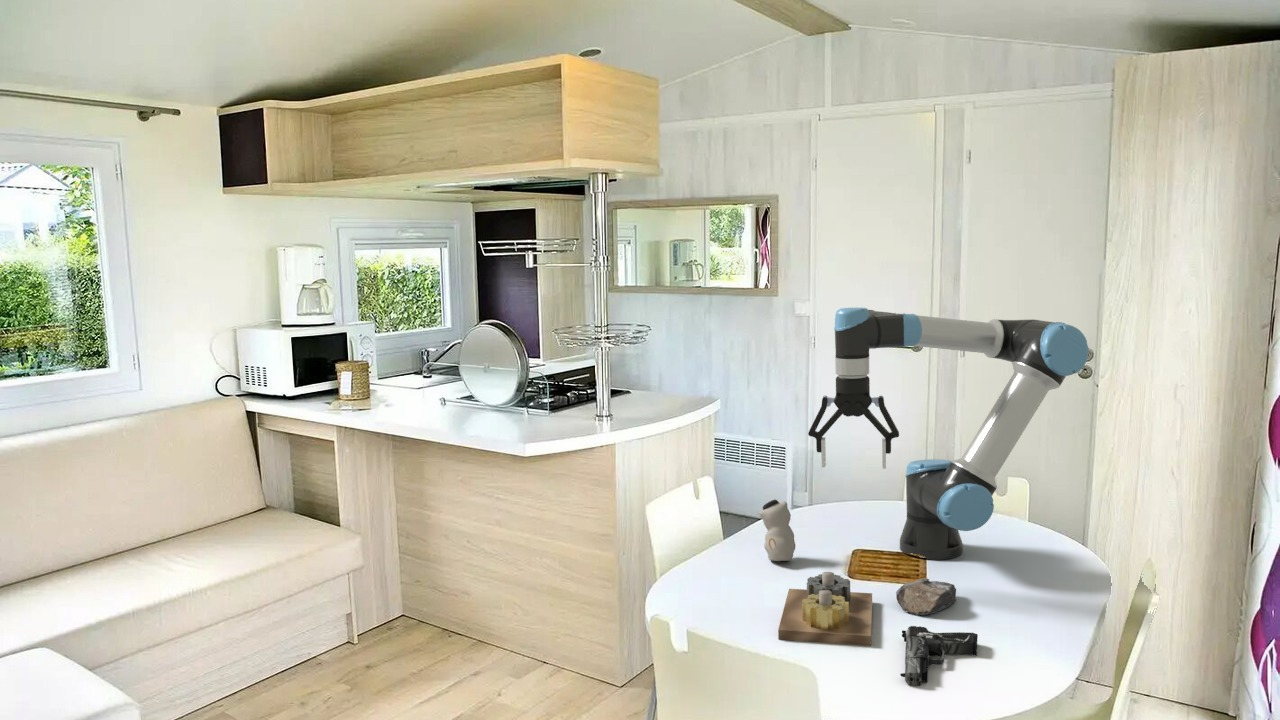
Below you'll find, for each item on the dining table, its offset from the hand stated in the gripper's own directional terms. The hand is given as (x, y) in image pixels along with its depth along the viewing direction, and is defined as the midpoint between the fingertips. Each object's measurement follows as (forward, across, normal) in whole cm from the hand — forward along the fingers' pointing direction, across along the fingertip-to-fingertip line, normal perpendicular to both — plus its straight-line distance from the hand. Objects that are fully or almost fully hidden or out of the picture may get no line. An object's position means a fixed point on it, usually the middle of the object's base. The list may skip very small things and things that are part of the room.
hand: (853, 466), depth 209 cm
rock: (+27, -15, +14) cm, 34 cm away
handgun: (+27, -16, +41) cm, 52 cm away
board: (+27, +5, +25) cm, 37 cm away
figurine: (+27, +19, -9) cm, 34 cm away
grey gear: (+24, +5, +20) cm, 32 cm away
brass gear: (+25, +5, +30) cm, 39 cm away
